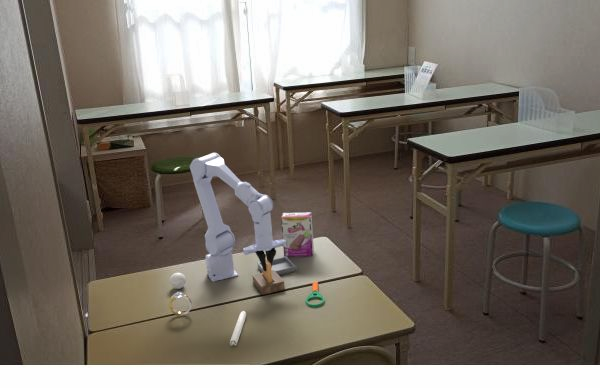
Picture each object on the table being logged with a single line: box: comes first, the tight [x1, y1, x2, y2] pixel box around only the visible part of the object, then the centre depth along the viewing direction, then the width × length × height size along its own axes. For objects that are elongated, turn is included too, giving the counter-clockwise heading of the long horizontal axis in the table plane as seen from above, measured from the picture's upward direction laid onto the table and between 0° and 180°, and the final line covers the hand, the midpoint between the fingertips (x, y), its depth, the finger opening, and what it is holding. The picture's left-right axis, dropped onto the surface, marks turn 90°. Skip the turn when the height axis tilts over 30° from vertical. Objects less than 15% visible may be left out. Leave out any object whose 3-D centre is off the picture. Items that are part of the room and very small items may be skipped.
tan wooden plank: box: [263, 258, 273, 283], centre depth 200 cm, size 1×6×7 cm, turn 22°
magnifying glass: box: [305, 281, 325, 308], centre depth 193 cm, size 15×6×2 cm, turn 178°
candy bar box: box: [280, 211, 315, 258], centre depth 223 cm, size 11×5×16 cm, turn 84°
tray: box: [257, 255, 297, 276], centre depth 214 cm, size 11×10×2 cm
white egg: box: [167, 272, 187, 290], centre depth 205 cm, size 8×6×6 cm
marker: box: [229, 310, 247, 347], centre depth 176 cm, size 18×2×2 cm, turn 175°
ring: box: [167, 291, 192, 317], centre depth 186 cm, size 7×3×8 cm, turn 87°
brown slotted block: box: [251, 270, 286, 296], centre depth 201 cm, size 8×10×3 cm
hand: (267, 269), depth 200 cm, fingers closed on tan wooden plank, 1 cm apart
